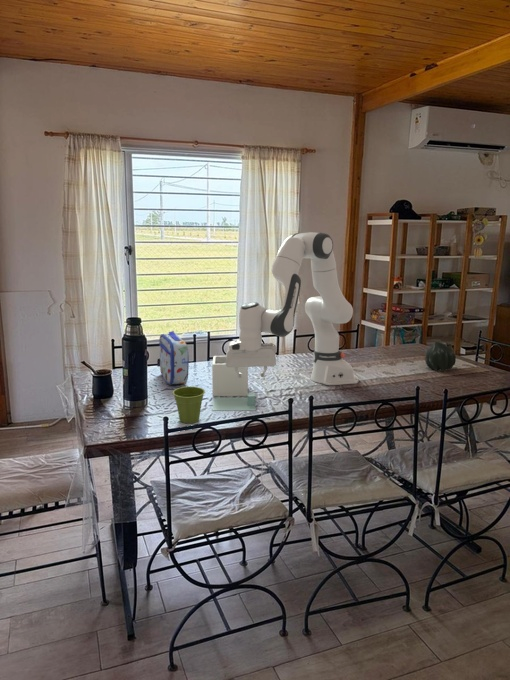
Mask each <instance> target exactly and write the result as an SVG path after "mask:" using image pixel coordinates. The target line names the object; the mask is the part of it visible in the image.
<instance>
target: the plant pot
mask: <svg viewBox="0 0 510 680" xmlns="http://www.w3.org/2000/svg"><path fill="white" fill-rule="evenodd" d="M205 393H206V390H205V389H204V388H202V387H200V386H199V387H198V386H181V387H178V388H175V389H174V390H173V391H172V395H173V396H174V400H175V402H176V409H177V412H178V418H179V422H180V423H183V424H188V423H189V424H193V423H197V422H198V421H200V416H201V409H202V403H203V398H204V394H205Z"/></svg>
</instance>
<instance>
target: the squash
mask: <svg viewBox="0 0 510 680" xmlns="http://www.w3.org/2000/svg"><path fill="white" fill-rule="evenodd" d="M424 358H425V359H424V360H425V364H426V366H427V367H428V368H429V369H431V370H434V371H437V372H439V371H441V372H445V371H447V370H451V369H452V368H453V367H454V366H455V365H456V359H457V357H456V354H455V352H454V350H453V349H452V348H451V347H449V346H448V345H447V344H445V343H442V342H440V341H435V342H434V343H433V344H432V345H431V346H430V347H429V349H427V351H426V353H425V356H424ZM438 370H439V371H438Z"/></svg>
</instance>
